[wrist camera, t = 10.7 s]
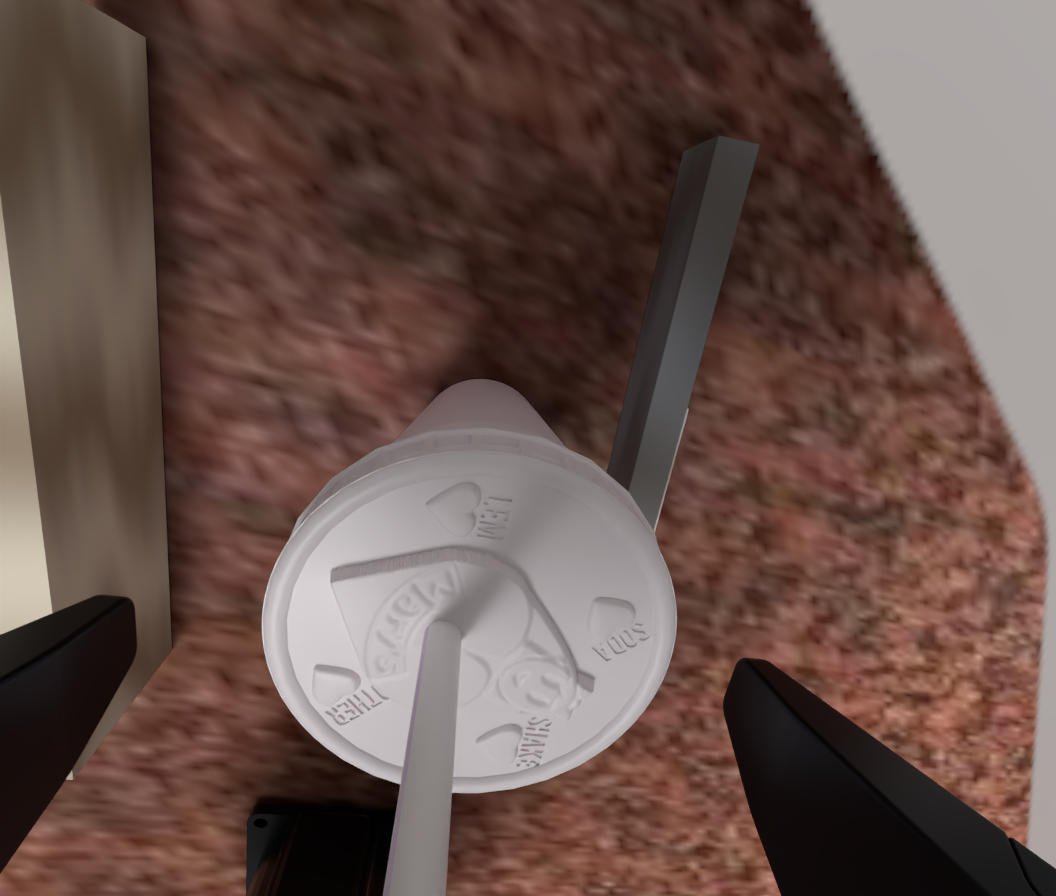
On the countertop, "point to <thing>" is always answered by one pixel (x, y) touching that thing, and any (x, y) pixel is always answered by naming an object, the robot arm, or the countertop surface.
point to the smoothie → (467, 614)
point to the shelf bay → (133, 342)
